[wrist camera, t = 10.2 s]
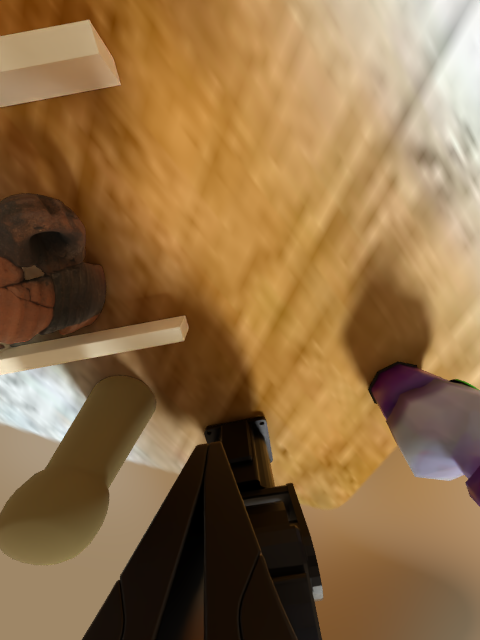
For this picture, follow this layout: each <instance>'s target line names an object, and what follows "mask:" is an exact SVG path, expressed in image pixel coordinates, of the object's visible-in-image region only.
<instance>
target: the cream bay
mask: <svg viewBox="0 0 480 640" xmlns="http://www.w3.org/2000/svg"><path fill="white" fill-rule="evenodd" d="M118 85H121V84H120V80H119V76H118V73H117V69H116V66H115V62H114V59H113V57H112V55H111V54H110V52H109V50H108V49H107V47H106V46H105V44H104V42H103V41H102V39H101V38H100V36H99V35H98V33H97V31H96V30H95V28H94V27H93V25H92V23H91V22H90V20H85V21H80V22H74V23H69V24H64V25H58V26H53V27H48V28H42V29H37V30H31V31H26V32H21V33H15V34H10V35H5V36H0V107H5V106H10V105H16V104H21V103H26V102H32V101H37V100H43V99H48V98H53V97H59V96H64V95H69V94H75V93H80V92H86V91H91V90H96V89H102V88H107V87H113V86H118ZM188 329H189V327H188V323H187V320H186V316H179V317H174V318H168V319H163V320H157V321H152V322H147V323H141V324H136V325H130V326H125V327H119V328H114V329H109V330H103V331H98V332H92V333H87V334H81V335H76V336H71V337H65V338H60V339H54V340H49V341H43V342H38V343H33V344H27V345H22V346H16V347H11V346H10V345H9V344H5V343H0V344H3V345H4V346H5V348H4V349H0V375H2V374H8V373H13V372H19V371H24V370H29V369H35V368H40V367H46V366H51V365H57V364H62V363H67V362H73V361H78V360H84V359H89V358H95V357H100V356H106V355H111V354H116V353H122V352H127V351H133V350H138V349H144V348H149V347H154V346H160V345H165V344H171V343H176V342H182V341H184V340H185V337H186V334H187V332H188Z"/></svg>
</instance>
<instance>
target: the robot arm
mask: <svg viewBox="0 0 480 640" xmlns="http://www.w3.org/2000/svg"><path fill="white" fill-rule="evenodd" d="M208 431H210V432H208ZM204 434H205V438H206V441H207V444H201V445H197V446H196V447H195V449H194V451H193V452H192V454H191V456H190V457H189V459H188V461H187V463H186V464H185V466H184V468H183V469H182V471H181V473H180V475H179V476H178V478H177V480H176V481H175V483H174V485H173V486H172V488H171V490H170V492H169V493H168V495H167V497H166V499H165V500H164V502H163V504H162V505H161V507H160V509H159V511H158V512H157V514H156V516H155V517H154V519H153V521H152V522H151V524H150V526H149V528H148V529H147V531H146V533H145V534H144V536H143V538H142V539H141V541H140V543H139V545H138V546H137V548H136V550H135V551H134V553H133V555H132V557H131V558H130V560H129V562H128V563H127V565H126V567H125V569H124V570H123V572H122V574H121V576H120V580H118V581H117V582H116V584H115V585H114V587H113V589H112V591H111V592H110V594H109V596H108V597H107V599H106V601H105V603H104V604H103V606H102V607H101V609H100V611H99V612H98V614H97V616H96V617H95V619H94V621H93V622H92V624H91V626H90V627H89V629H88V630H87V632H86V634H85V635H84V637H83V639H82V640H322V638H321V632H320V627H319V622H318V617H317V612H316V607H315V602H314V601H320V600H323V591H322V584H321V578H320V573H319V568H318V563H317V559H316V555H315V551H314V548H313V544H312V540H311V536H310V533H309V530H308V527H307V525H306V521H305V518H304V515H303V513H302V509H301V506H300V504H299V501H298V498H297V495H296V492H295V489H294V486H293V483H288V484H286V485H283V486H277V487H275V484H274V479H273V474H272V469H271V464H270V463H271V462H272V461H273V458H272V452H271V446H270V440H269V434H268V428H267V422H266V419H265V418H264V417H257V418H252V419H246V420H241V421H235V422H230V423H224V424H219V425H214V426H208V427H206V428H205V431H204Z"/></svg>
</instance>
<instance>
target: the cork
mask: <svg viewBox="0 0 480 640" xmlns="http://www.w3.org/2000/svg"><path fill="white" fill-rule="evenodd" d="M155 408H156V399H155V396H154V393H153V392H152V391H151V389H150V388H149V387H148V386H147V385H146V384H144V383H143V382H142V381H140V380H137V379H135V378H132V377H128V376H121V375H119V376H110V377H108V378H105V379H103V380H101V381H100V382H99V383H98V384H97V385H95V386H94V388H93V390H92V391H91V393H90V395H89V396H88V398H87V400H86V401H85V403H84V405H83V406H82V408H81V410H80V411H79V413H78V415H77V416H76V418H75V420H74V421H73V423H72V425H71V426H70V428H69V430H68V431H67V433H66V435H65V436H64V438H63V440H62V441H61V443H60V445H59V447H58V448H57V450H56V451H55V453H54V455H53V457H52V459H51V460H50V462H49V463H48V465H47V467H46V468H45V470H42V471H40V472H38V473H36V474H34V475H33V476H32V477H31V478H30V479H29V480H28V481H26V482H25V483H24V484H23V485H22V486H21V487H20V488H18V489H17V490H16V491H15V493H14V494H13V495H12V496H11V497H10V499H9V500H8V501H7V502H6V504H5V506H4V508H3V510H2V512H1V513H0V549H1V550H2V551H3V552H4V554H6V555H7V556H9V557H11V558H12V559H15V560H18V561H20V562H23V563H28V564H33V565H52V564H58V563H61V562H64V561H67V560H69V559H72V558H74V557H75V556H77V555H78V554H80V553H81V552H82V551H83V550H84V549H85V548H86V547H87V546H88V545H89V544H90V543H91V541H92V540H93V538H94V537H95V535H96V534H97V532H98V531H99V529H100V527H101V526H102V524H103V521H104V519H105V516H106V514H107V510H108V505H109V490H108V488H109V487H110V485H111V483H112V482H113V480H114V478H115V476H116V475H117V473H118V471H119V470H120V468H121V466H122V465H123V463H124V461H125V460H126V458H127V456H128V455H129V453H130V451H131V450H132V448H133V446H134V445H135V443H136V441H137V440H138V438H139V436H140V435H141V433H142V431H143V430H144V428H145V426H146V424H147V423H148V421H149V419H150V418H151V416H152V414H153V413H154V411H155Z"/></svg>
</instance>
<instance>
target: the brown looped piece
mask: <svg viewBox="0 0 480 640" xmlns="http://www.w3.org/2000/svg"><path fill="white" fill-rule="evenodd" d="M85 244H86V232H85V227H84V225H83V223H82V222H81V221H80V219H79V218H78V217H77V215H76V214H75V213H74V212H73V211H72V210H71V209H70V208H68V207H67V206H65V205H64V204H63V203H62V202H61V201H60V200H57V199H53V198H50V197H46V196H43V195H38V194H28V193H26V194H17V195H12V196H9V197H7V198H5V199H3V200H2V201H0V343H5V344H14V343H18V342H26V341H29V340H30V339H32V338H33V337H34V336H35V335H36V334H41V335H44V334H47V333H53V332H55V331H57V330H59V333H60V334H62V335H65V334H69V333H72V332H74V331H76V330H78V329H80V328H82V327H85V326H88V325H90V324H92V323H93V322H94V321H95V320H96V319H97V317H98V316H99V314H100V313H101V311H102V308H103V305H104V303H105V295H106V282H105V276H104V272H103V268H102V266H101V265H97V264H95V265H92V264H90V263H85V262H82V261H83V260H84V258H85V255H86V250H85ZM32 265H35V266H36V267H38V268H39V269H41V270H42V272H44V273H45V274H44V276H41V277H38V278H34V279H31V280H25V278H24V271H23V269H22V267H30V266H32ZM4 348H5V346H4V345H3V344H0V349H4Z"/></svg>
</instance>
